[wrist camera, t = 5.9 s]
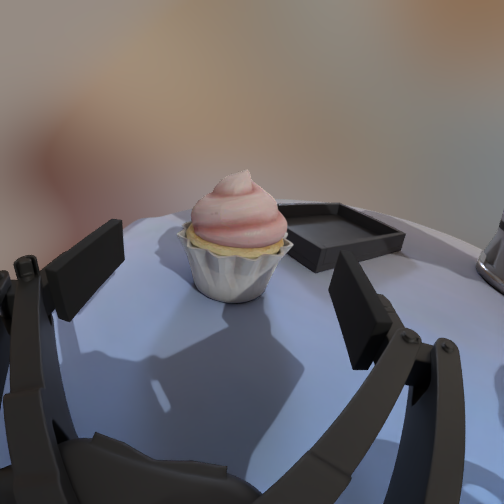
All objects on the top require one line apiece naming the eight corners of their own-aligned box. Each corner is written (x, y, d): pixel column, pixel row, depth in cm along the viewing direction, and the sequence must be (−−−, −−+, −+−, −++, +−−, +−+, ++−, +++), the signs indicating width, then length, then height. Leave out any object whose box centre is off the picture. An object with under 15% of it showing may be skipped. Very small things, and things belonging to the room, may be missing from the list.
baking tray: (335, 217, 49) (339, 202, 48) (400, 250, 38) (406, 233, 37) (244, 223, 39) (246, 204, 38) (315, 273, 28) (321, 248, 27)
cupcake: (276, 328, 20) (306, 192, 15) (159, 299, 21) (158, 170, 16) (287, 270, 28) (306, 172, 24) (199, 252, 29) (207, 157, 25)
